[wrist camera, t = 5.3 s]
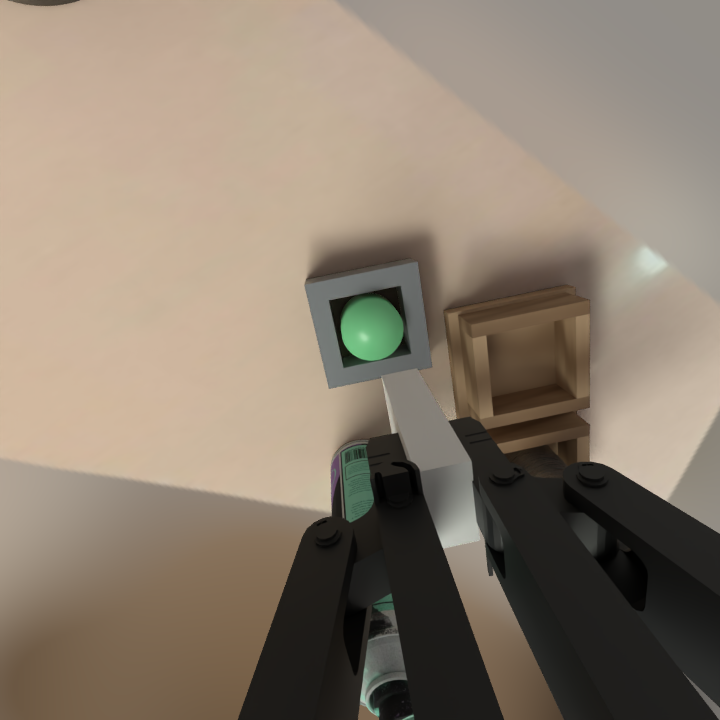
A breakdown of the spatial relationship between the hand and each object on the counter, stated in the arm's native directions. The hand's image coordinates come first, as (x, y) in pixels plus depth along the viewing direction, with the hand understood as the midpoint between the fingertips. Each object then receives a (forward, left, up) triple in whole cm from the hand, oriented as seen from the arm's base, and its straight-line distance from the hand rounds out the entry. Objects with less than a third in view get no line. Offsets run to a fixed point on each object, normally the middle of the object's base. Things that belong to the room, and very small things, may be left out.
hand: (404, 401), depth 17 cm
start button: (0, 0, -16) cm, 16 cm away
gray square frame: (0, 0, -16) cm, 16 cm away
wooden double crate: (+10, +11, -16) cm, 22 cm away
